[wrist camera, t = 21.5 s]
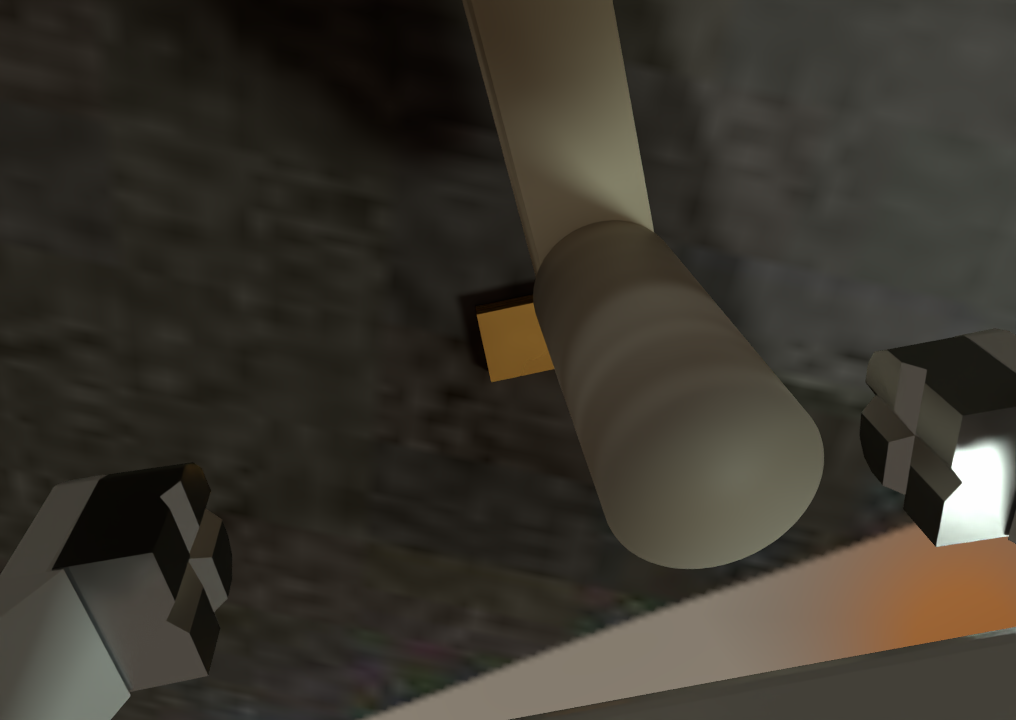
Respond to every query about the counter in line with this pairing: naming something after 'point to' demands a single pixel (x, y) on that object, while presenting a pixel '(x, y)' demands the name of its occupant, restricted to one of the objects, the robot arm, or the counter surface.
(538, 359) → the crank base
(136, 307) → the counter surface
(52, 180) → the counter surface
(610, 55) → the crank
